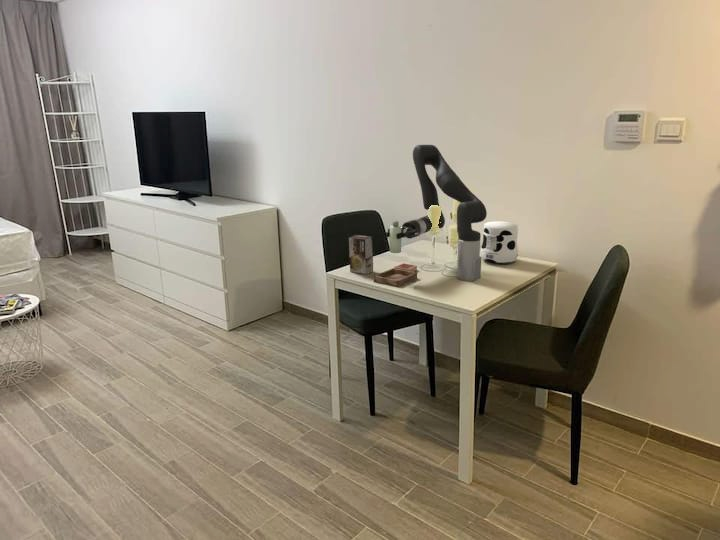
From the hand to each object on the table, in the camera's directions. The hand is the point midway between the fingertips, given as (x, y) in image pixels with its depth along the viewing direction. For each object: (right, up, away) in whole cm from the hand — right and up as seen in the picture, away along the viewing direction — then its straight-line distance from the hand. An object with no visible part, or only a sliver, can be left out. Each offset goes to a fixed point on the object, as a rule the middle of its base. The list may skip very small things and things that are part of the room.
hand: (392, 235), depth 225 cm
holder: (+7, -15, +20) cm, 26 cm away
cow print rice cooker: (+53, -10, +32) cm, 63 cm away
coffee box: (-13, -15, +21) cm, 29 cm away
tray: (+2, -19, +7) cm, 20 cm away
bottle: (+2, -7, +4) cm, 8 cm away
